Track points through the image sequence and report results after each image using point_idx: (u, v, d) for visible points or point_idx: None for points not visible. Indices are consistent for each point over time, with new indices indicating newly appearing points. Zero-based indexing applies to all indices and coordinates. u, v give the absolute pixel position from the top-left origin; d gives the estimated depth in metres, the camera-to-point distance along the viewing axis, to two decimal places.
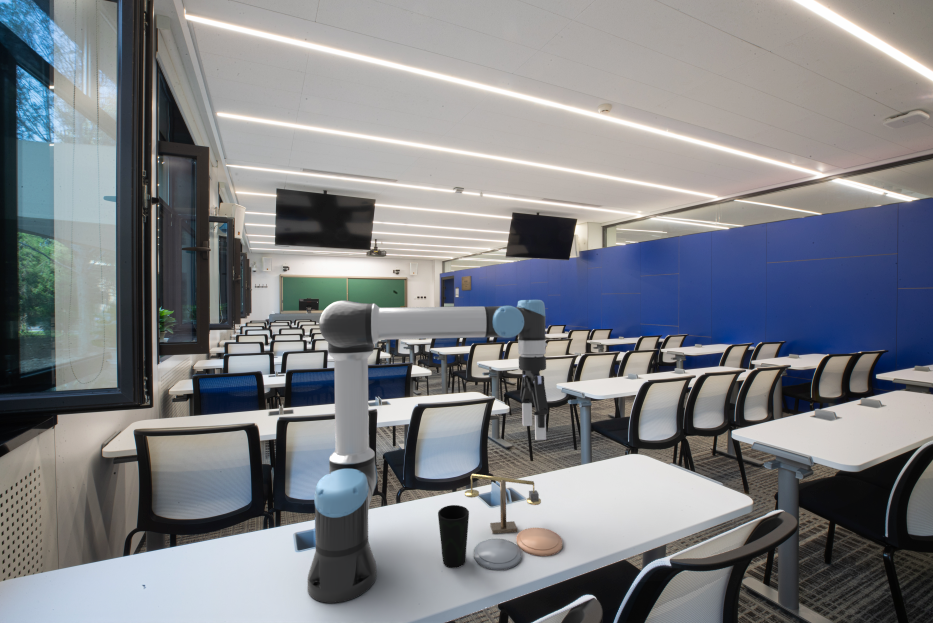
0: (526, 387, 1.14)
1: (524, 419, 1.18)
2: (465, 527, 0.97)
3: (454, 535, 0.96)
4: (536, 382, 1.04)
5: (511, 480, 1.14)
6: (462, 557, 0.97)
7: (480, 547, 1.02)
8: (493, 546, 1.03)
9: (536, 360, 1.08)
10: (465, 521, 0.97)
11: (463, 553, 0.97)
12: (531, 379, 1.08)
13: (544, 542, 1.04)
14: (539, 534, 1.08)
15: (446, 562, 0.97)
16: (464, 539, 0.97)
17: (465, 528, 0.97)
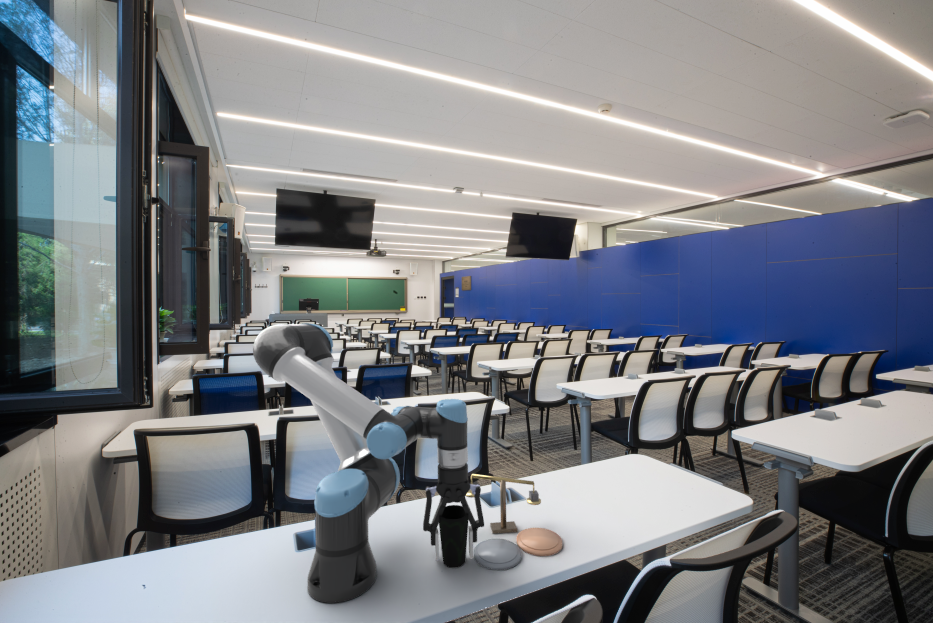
0: None
1: None
2: (465, 527, 0.97)
3: (454, 535, 0.96)
4: None
5: (511, 480, 1.14)
6: (462, 557, 0.97)
7: (480, 547, 1.02)
8: (493, 546, 1.03)
9: None
10: (465, 521, 0.97)
11: (463, 553, 0.97)
12: None
13: (544, 542, 1.04)
14: (539, 534, 1.08)
15: (446, 562, 0.97)
16: (464, 539, 0.97)
17: (465, 528, 0.97)
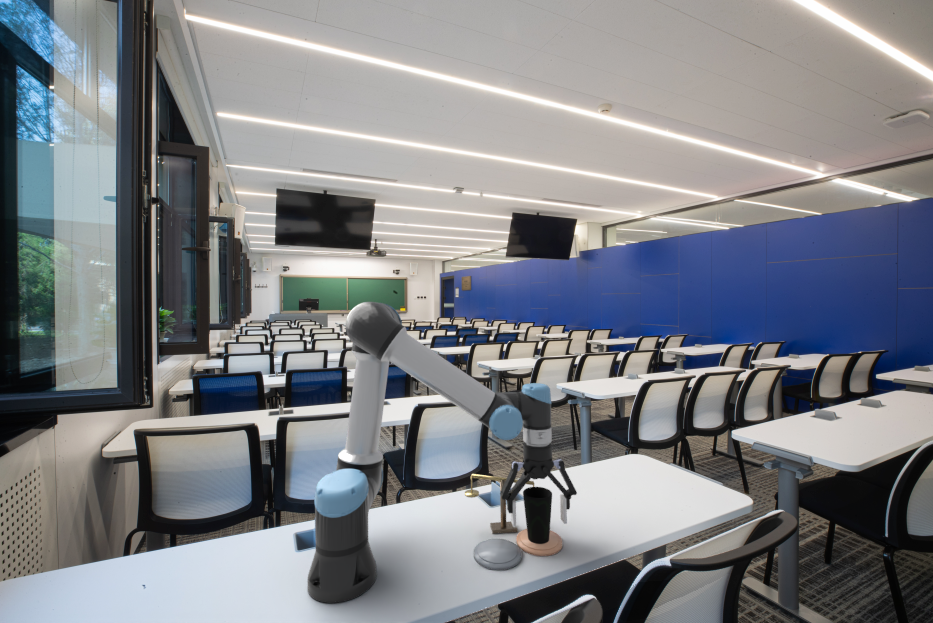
0: None
1: (561, 512, 1.08)
2: (550, 506, 1.05)
3: (541, 513, 1.03)
4: (511, 466, 1.07)
5: None
6: (547, 534, 1.04)
7: (480, 547, 1.02)
8: (493, 546, 1.03)
9: (523, 447, 1.06)
10: (550, 500, 1.05)
11: (548, 530, 1.05)
12: None
13: None
14: None
15: (533, 539, 1.04)
16: (549, 517, 1.05)
17: (550, 507, 1.05)
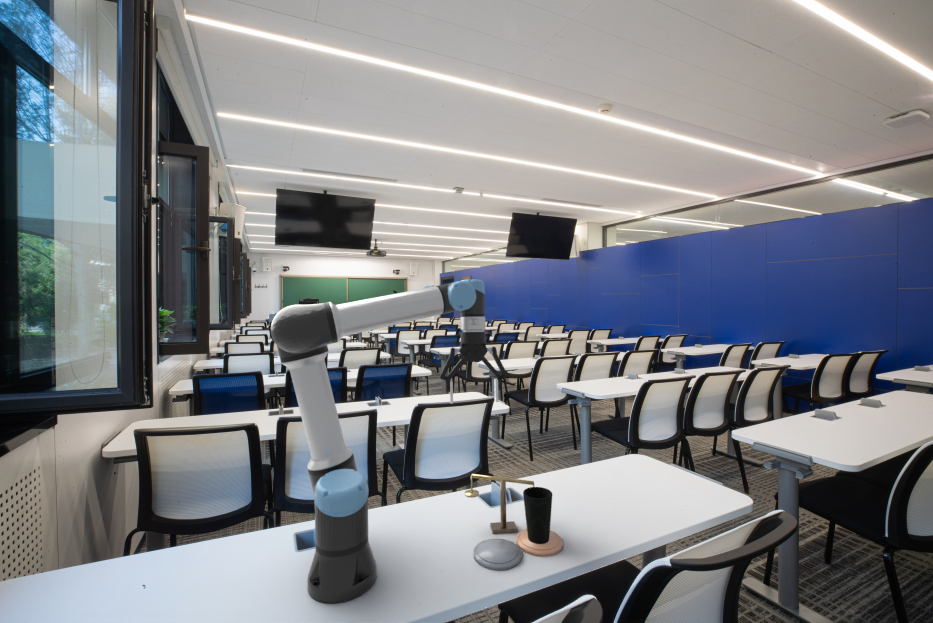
0: None
1: (494, 394, 1.22)
2: (550, 506, 1.05)
3: (541, 513, 1.03)
4: (450, 352, 1.21)
5: (511, 480, 1.14)
6: (548, 534, 1.04)
7: (480, 547, 1.02)
8: (493, 546, 1.03)
9: None
10: (550, 500, 1.04)
11: (548, 530, 1.05)
12: None
13: None
14: None
15: (533, 539, 1.04)
16: (549, 517, 1.05)
17: (550, 507, 1.05)
